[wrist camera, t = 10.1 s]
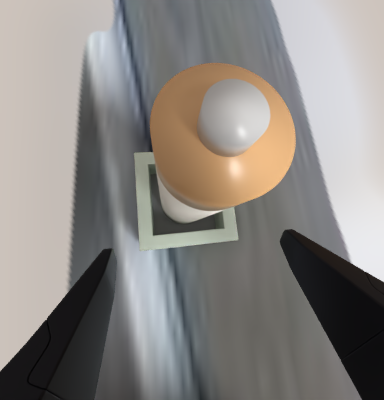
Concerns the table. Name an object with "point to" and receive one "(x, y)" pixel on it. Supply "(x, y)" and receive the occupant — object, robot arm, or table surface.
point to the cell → (218, 140)
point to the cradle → (165, 228)
